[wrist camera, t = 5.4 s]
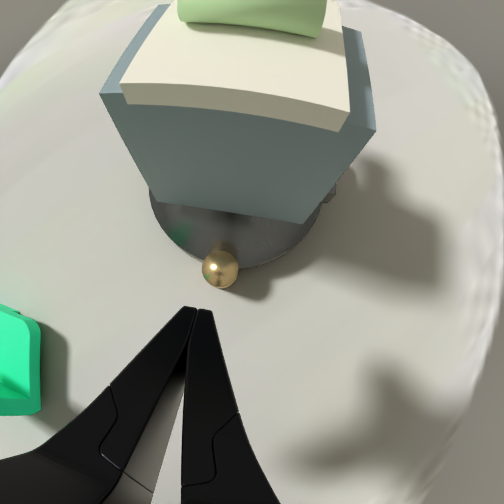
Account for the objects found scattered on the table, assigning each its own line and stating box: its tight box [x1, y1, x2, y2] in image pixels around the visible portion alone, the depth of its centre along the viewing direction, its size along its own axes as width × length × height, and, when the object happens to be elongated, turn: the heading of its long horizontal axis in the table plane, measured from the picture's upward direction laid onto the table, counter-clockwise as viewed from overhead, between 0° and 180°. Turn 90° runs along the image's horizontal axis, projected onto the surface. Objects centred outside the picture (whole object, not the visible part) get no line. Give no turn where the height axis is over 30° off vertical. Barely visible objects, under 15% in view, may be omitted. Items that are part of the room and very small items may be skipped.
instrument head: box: [99, 0, 376, 224], centre depth 13 cm, size 10×10×13 cm
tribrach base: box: [149, 183, 336, 288], centre depth 19 cm, size 13×13×4 cm
